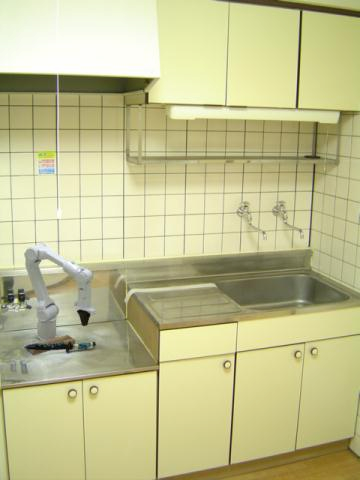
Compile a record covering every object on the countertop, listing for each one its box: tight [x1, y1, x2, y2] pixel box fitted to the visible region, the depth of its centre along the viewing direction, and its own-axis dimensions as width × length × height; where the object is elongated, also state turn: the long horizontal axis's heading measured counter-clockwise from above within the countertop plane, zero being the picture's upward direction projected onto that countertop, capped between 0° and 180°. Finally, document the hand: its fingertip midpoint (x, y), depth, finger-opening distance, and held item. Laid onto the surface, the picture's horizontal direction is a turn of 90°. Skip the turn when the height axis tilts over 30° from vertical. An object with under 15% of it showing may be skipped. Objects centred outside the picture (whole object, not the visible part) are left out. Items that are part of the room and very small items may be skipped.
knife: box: [24, 341, 97, 354], centre depth 234 cm, size 31×3×4 cm, turn 107°
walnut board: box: [26, 334, 76, 356], centre depth 240 cm, size 7×20×2 cm, turn 129°
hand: (84, 325), depth 241 cm, fingers closed
